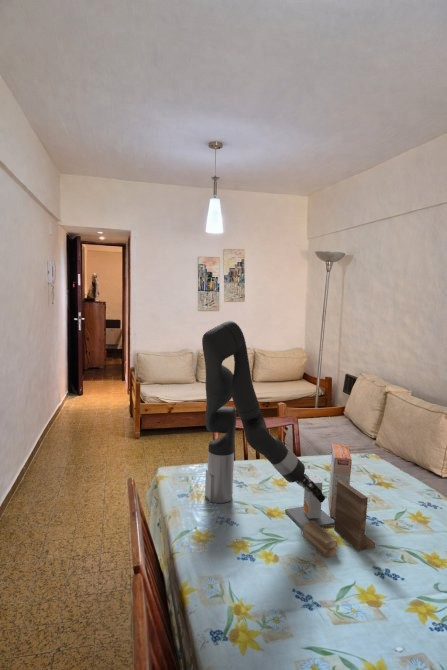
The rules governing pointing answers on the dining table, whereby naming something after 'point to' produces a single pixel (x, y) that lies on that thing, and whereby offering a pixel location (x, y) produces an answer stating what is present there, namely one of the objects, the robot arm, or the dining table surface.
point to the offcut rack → (342, 523)
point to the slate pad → (301, 518)
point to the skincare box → (312, 500)
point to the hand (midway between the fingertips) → (316, 495)
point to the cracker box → (338, 472)
